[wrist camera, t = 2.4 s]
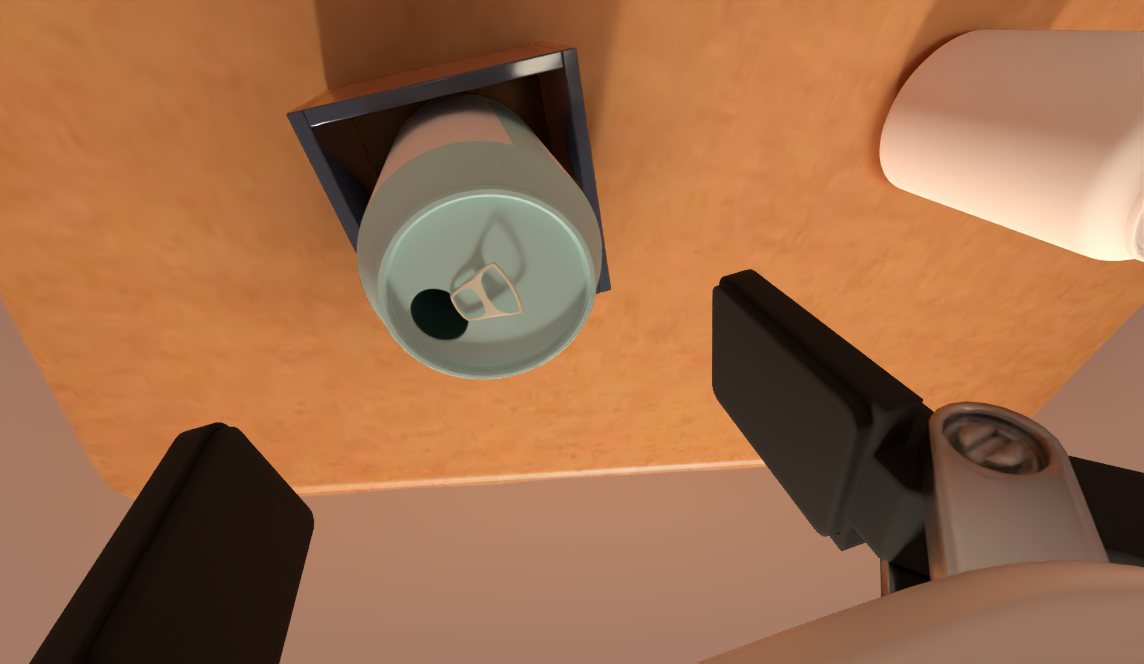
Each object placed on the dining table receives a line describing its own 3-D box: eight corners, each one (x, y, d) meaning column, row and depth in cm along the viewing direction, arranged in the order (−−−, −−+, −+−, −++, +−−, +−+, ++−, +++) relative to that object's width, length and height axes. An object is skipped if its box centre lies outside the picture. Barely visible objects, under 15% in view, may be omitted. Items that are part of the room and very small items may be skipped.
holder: (325, 89, 19) (284, 113, 14) (543, 40, 19) (576, 46, 15) (411, 282, 24) (403, 348, 19) (578, 238, 25) (611, 290, 20)
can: (505, 264, 25) (545, 420, 15) (369, 208, 21) (310, 360, 12) (568, 141, 22) (668, 236, 12) (424, 56, 19) (406, 93, 9)
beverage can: (1027, 85, 26) (1374, 121, 16) (915, 209, 29) (1150, 302, 19) (964, -8, 22) (1364, -32, 13) (843, 146, 25) (1090, 221, 16)
